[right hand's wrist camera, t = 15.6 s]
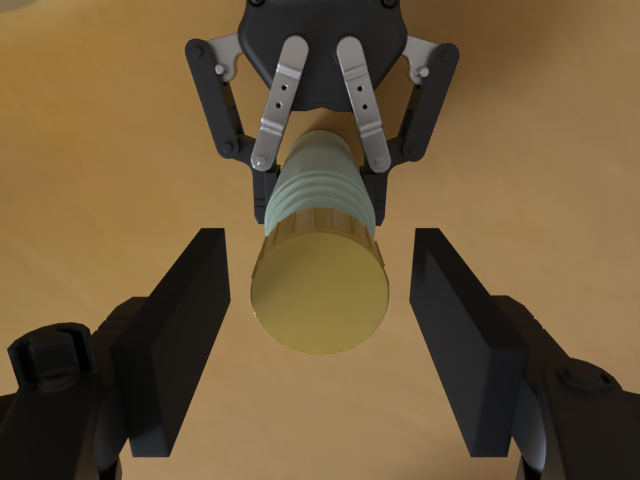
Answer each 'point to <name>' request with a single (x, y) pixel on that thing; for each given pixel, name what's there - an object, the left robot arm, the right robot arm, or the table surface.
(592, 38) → the table surface
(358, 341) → the cap
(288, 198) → the bottle
